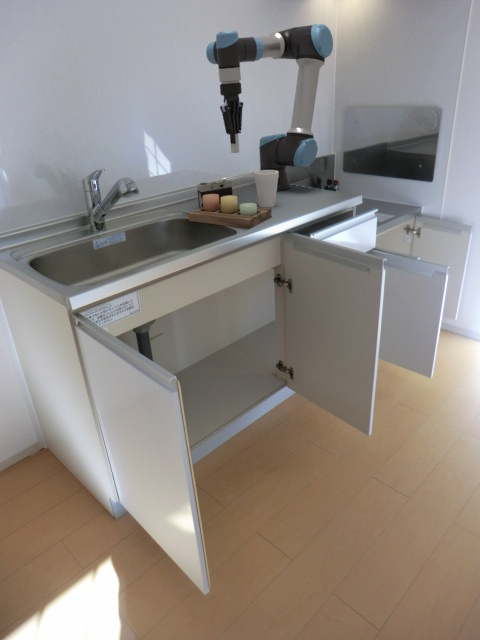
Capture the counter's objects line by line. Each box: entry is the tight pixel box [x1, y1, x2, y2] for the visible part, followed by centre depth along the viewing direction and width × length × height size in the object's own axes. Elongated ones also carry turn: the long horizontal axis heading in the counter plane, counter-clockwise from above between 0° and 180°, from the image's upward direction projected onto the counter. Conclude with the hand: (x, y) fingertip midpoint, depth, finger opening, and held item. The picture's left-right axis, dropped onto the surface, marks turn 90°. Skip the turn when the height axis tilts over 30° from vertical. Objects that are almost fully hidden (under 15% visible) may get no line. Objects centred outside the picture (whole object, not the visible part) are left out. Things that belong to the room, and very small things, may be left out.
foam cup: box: [253, 170, 279, 208], centre depth 191 cm, size 10×9×13 cm
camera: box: [196, 178, 233, 209], centre depth 197 cm, size 14×8×10 cm, turn 120°
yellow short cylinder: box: [221, 194, 239, 213], centre depth 176 cm, size 6×6×5 cm
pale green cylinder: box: [239, 202, 258, 216], centre depth 173 cm, size 6×6×5 cm
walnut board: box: [188, 204, 273, 229], centre depth 177 cm, size 16×26×3 cm, turn 58°
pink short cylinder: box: [203, 194, 220, 211], centre depth 179 cm, size 6×6×5 cm
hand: (235, 152), depth 180 cm, fingers closed
